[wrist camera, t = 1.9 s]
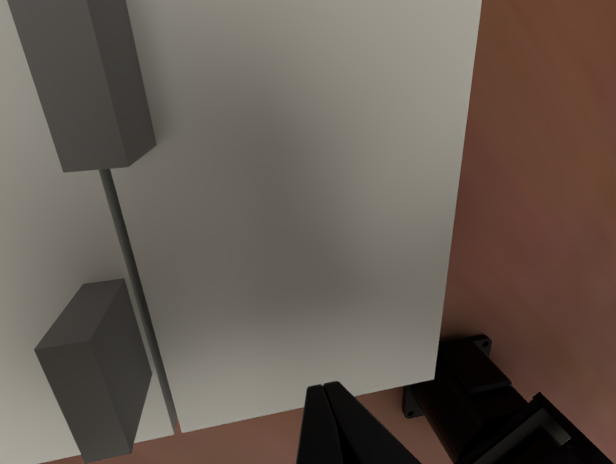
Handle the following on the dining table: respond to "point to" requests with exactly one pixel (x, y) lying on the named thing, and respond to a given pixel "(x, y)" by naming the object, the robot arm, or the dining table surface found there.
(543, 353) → the dining table surface
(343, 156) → the flap
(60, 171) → the flap
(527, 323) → the dining table surface
